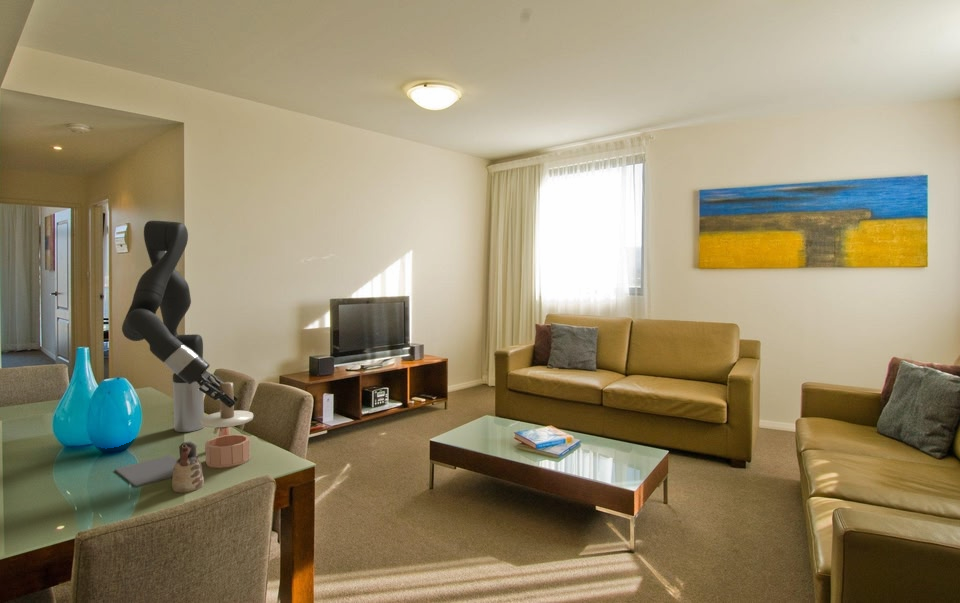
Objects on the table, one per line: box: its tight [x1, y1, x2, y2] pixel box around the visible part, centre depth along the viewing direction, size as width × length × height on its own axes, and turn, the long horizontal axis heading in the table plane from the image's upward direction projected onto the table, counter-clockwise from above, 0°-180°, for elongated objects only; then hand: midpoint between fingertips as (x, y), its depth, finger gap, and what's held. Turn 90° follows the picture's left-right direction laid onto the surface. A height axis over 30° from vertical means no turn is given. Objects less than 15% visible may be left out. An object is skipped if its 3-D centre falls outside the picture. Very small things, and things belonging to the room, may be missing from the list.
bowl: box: [204, 433, 251, 469], centre depth 154 cm, size 12×12×6 cm
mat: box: [114, 454, 178, 488], centre depth 146 cm, size 17×14×1 cm
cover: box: [200, 381, 254, 429], centre depth 153 cm, size 14×14×11 cm
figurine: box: [171, 441, 205, 494], centre depth 135 cm, size 7×7×12 cm
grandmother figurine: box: [213, 409, 235, 437], centre depth 166 cm, size 8×4×13 cm, turn 168°
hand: (234, 403), depth 153 cm, fingers closed on cover, 3 cm apart
